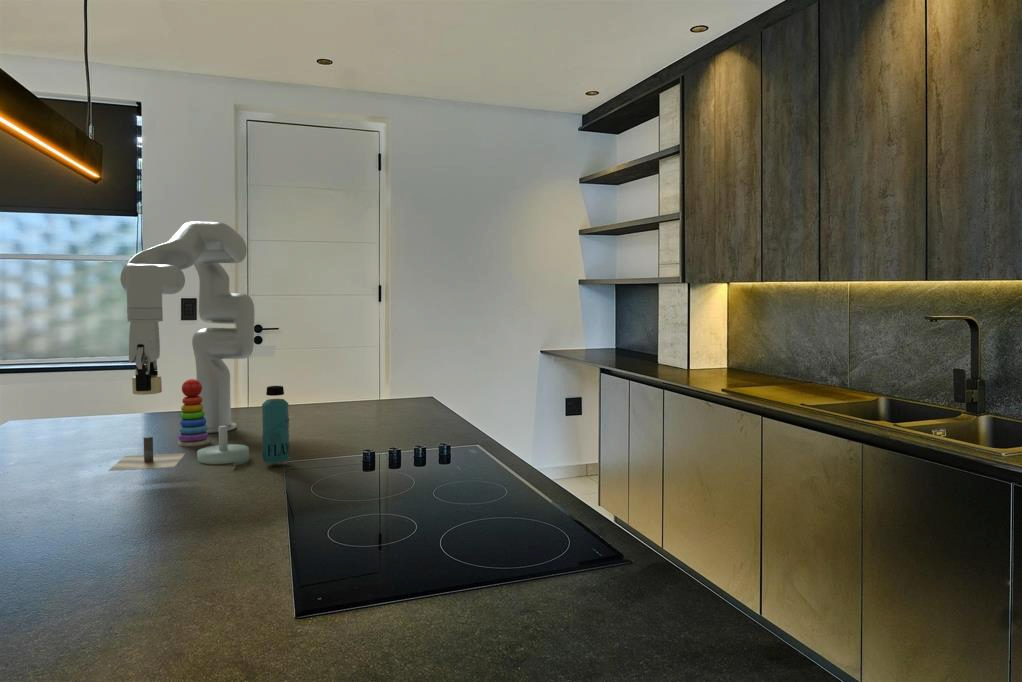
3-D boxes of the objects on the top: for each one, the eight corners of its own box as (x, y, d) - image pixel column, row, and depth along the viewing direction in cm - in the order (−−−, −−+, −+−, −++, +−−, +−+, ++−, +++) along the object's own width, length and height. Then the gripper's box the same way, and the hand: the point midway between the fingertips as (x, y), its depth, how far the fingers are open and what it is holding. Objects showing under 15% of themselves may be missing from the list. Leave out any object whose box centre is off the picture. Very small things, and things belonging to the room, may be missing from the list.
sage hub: (201, 456, 170) (201, 422, 170) (251, 454, 174) (250, 421, 173) (193, 469, 159) (192, 432, 158) (246, 466, 162) (245, 430, 161)
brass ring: (136, 391, 162) (136, 375, 162) (163, 390, 164) (163, 374, 164) (130, 394, 156) (129, 378, 156) (158, 394, 158) (157, 377, 158)
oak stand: (125, 460, 166) (124, 432, 166) (185, 456, 170) (185, 430, 169) (108, 474, 153) (107, 445, 152) (174, 471, 157) (173, 442, 156)
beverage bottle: (263, 470, 159) (262, 388, 157) (260, 463, 165) (259, 384, 163) (291, 467, 162) (291, 387, 160) (287, 460, 168) (286, 383, 166)
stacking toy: (215, 443, 185) (214, 378, 184) (199, 450, 177) (197, 381, 176) (189, 442, 186) (187, 377, 184) (171, 449, 178) (170, 380, 177)
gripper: (137, 313, 166) (139, 384, 167) (117, 316, 149) (119, 394, 151) (169, 313, 168) (171, 383, 169) (153, 317, 151) (155, 394, 153)
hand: (147, 388), depth 160 cm, fingers closed on brass ring, 6 cm apart
